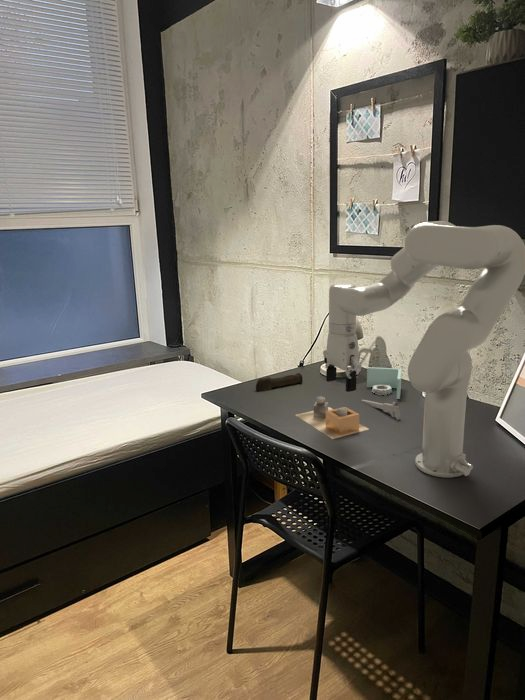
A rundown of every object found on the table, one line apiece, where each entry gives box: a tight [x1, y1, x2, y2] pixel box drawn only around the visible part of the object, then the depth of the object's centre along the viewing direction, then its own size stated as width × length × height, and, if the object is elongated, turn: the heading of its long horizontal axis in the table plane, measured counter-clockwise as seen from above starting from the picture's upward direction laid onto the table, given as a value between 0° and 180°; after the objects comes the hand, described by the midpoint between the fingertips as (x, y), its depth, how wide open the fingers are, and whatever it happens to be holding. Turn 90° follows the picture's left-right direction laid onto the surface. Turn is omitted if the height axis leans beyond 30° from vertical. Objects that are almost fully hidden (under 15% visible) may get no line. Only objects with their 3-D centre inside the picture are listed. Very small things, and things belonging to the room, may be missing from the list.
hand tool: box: [255, 372, 303, 392], centre depth 193 cm, size 19×4×5 cm, turn 114°
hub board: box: [295, 396, 370, 440], centre depth 156 cm, size 21×13×7 cm, turn 27°
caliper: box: [360, 399, 401, 420], centre depth 165 cm, size 20×1×6 cm, turn 25°
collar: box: [326, 406, 360, 435], centre depth 151 cm, size 7×7×5 cm
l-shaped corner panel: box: [366, 366, 402, 400], centre depth 181 cm, size 12×12×8 cm
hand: (340, 385), depth 148 cm, fingers open, 9 cm apart
